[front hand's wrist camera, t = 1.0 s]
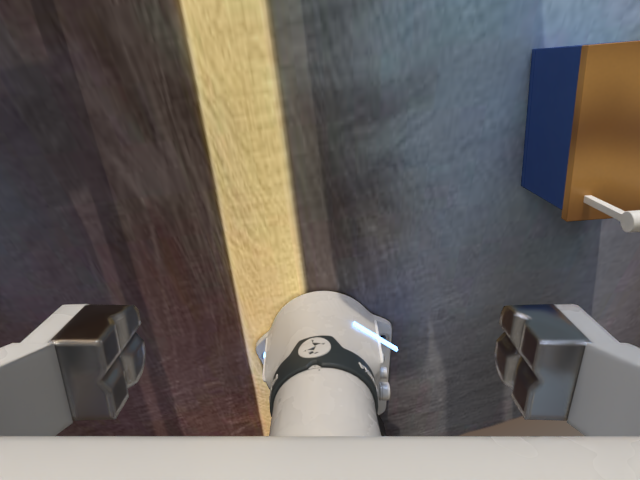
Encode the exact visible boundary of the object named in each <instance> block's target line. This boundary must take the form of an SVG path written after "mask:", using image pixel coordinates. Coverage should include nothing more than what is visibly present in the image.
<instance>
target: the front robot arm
mask: <svg viewBox="0 0 640 480" xmlns="http://www.w3.org/2000/svg"><path fill="white" fill-rule="evenodd" d="M140 324H141V321H140V316H139V311H138V309H137V308H136V307H135V306H134V305H97V304H90V305H89V304H68V305H62V306H61V307H60V308H59V309H57V310H56V311H55V312H54V313H53V314H52V315H51V316H50V317H49V318H47V319H46V320H45V321H44V322H43V323H42V324H41V325H40V326H38V327H37V328H36V329H35V330H34V331H33V332H32V333H31V334H30V335H28V336H27V337H26V338H25V339H24V340H23V341H22V342H21V343H11V344H9V345H6V346H4V347H1V348H0V480H640V348H639V347H636V346H634V345H631V344H629V343H619V342H618V341H617V340H616V339H615V338H614V337H613V336H612V335H611V334H609V333H608V332H607V331H606V330H605V329H604V328H603V327H602V326H600V325H599V324H598V323H597V322H596V321H595V320H594V319H593V318H592V317H590V316H589V315H588V314H587V313H586V312H585V311H584V310H583V309H582V308H580V307H579V306H578V305H575V304H556V305H554V304H543V305H508V306H504V307H503V309H502V312H501V315H500V321H499V324H500V325H501V327H502V329H503V330H504V333H503V334H502V335H501V336H500V337H499V338H498V339H497V340H496V346H495V363H496V368H497V371H498V374H499V376H500V378H501V380H502V382H503V383H504V384H506V385H508V386H509V387H511V388H512V389H513V390H512V396H511V397H512V399H513V401H514V402H515V404H516V406H517V407H518V409H519V411H520V412H521V414H522V416H523V417H524V419H530V420H567V423H568V424H570V425H571V426H573V427H574V428H575V429H577V430H578V431H579V432H581V433H582V434H583V435H585V436H386V433H385V428H384V423H383V422H382V420H381V418H380V417H379V415H380V414H382V413H383V412H384V411H385V409H386V401H387V400H390V385H389V383H388V376H389V364H390V351H391V349H393V350H394V351H396V352H397V351H398V348H397V347H396V346H395V345H393V344H391V338H392V325H391V323H390V322H389V321H388V320H386V319H384V318H382V317H379V316H376V315H373V314H372V313H370V312H369V311H368V310H367V309H366V308H365V307H363V306H362V305H361V304H360V303H359V302H358V301H356V300H354V299H353V298H351V297H349V296H347V295H344V294H341V293H337V292H332V291H315V292H310V293H306V294H303V295H300V296H298V297H296V298H294V299H293V300H291V301H290V302H288V303H287V304H286V305H285V306H284V307H283V308H282V309H281V310H280V311H279V312H278V314H277V315H276V317H275V319H274V321H273V324H272V326H271V328H270V329H269V331H268V332H267V333H265V334H264V335H263V336H262V337H261V338H260V339H259V340H258V341H257V343H256V352H257V354H258V356H259V358H260V360H261V362H262V364H263V381H264V382H266V383H267V385H268V387H269V389H270V413H271V417H272V419H271V427H270V434H269V436H56V435H57V434H58V433H60V432H61V431H62V430H64V429H65V428H66V427H68V426H69V425H70V424H72V423H73V420H109V419H116V417H117V416H118V414H119V412H120V411H121V409H122V407H123V406H124V404H125V402H126V401H127V399H128V397H129V396H128V390H127V389H128V388H129V387H131V386H132V385H134V384H136V383H137V382H138V380H139V378H140V376H141V374H142V372H143V367H144V363H145V346H144V340H143V339H142V338H141V337H140V336H139V335H138V334H137V333H136V330H137V329H138V327H139V325H140ZM381 335H385V336H384V337H380V336H381Z"/></svg>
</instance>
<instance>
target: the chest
mask: <svg viewBox="0 0 640 480" xmlns="http://www.w3.org/2000/svg"><path fill="white" fill-rule="evenodd" d="M637 41H640V40H637ZM624 42H629V41H624ZM612 43H617V42H612ZM601 44H605V43H601ZM589 45H594V44H589ZM582 46H583V45H578V46H566V47H554V48H543V49H533V50H532V60H531V72H530V84H529V96H528V108H527V120H526V132H525V144H524V156H523V168H522V181H521V186H523V187H524V188H526V189H528V190H529V191H531V192H533V193H534V194H536V195H538V196H539V197H541V198H543V199H544V200H546V201H548V202H549V203H551V204H553V205H554V206H556V207H558V208H560V209H561V210H562V209H563V200H564V192H565V184H566V175H567V167H568V158H569V150H570V142H571V133H572V125H573V116H574V108H575V100H576V91H577V83H578V74H579V66H580V58H581V49H582Z"/></svg>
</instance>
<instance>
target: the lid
mask: <svg viewBox="0 0 640 480" xmlns="http://www.w3.org/2000/svg"><path fill="white" fill-rule="evenodd" d="M561 218H562V219H563V220H565V221H567V222H568V221H581V220H594V219H607V218H615V219H617V220H619V221H620V223H621V227H622V229H623V230H624V231H625V232H628V233H629V232H640V41H629V42H617V43H605V44H594V45H583V46H582V49H581V58H580V66H579V74H578V83H577V91H576V100H575V108H574V116H573V125H572V133H571V142H570V150H569V158H568V167H567V175H566V184H565V192H564V200H563V209H562V217H561Z"/></svg>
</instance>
